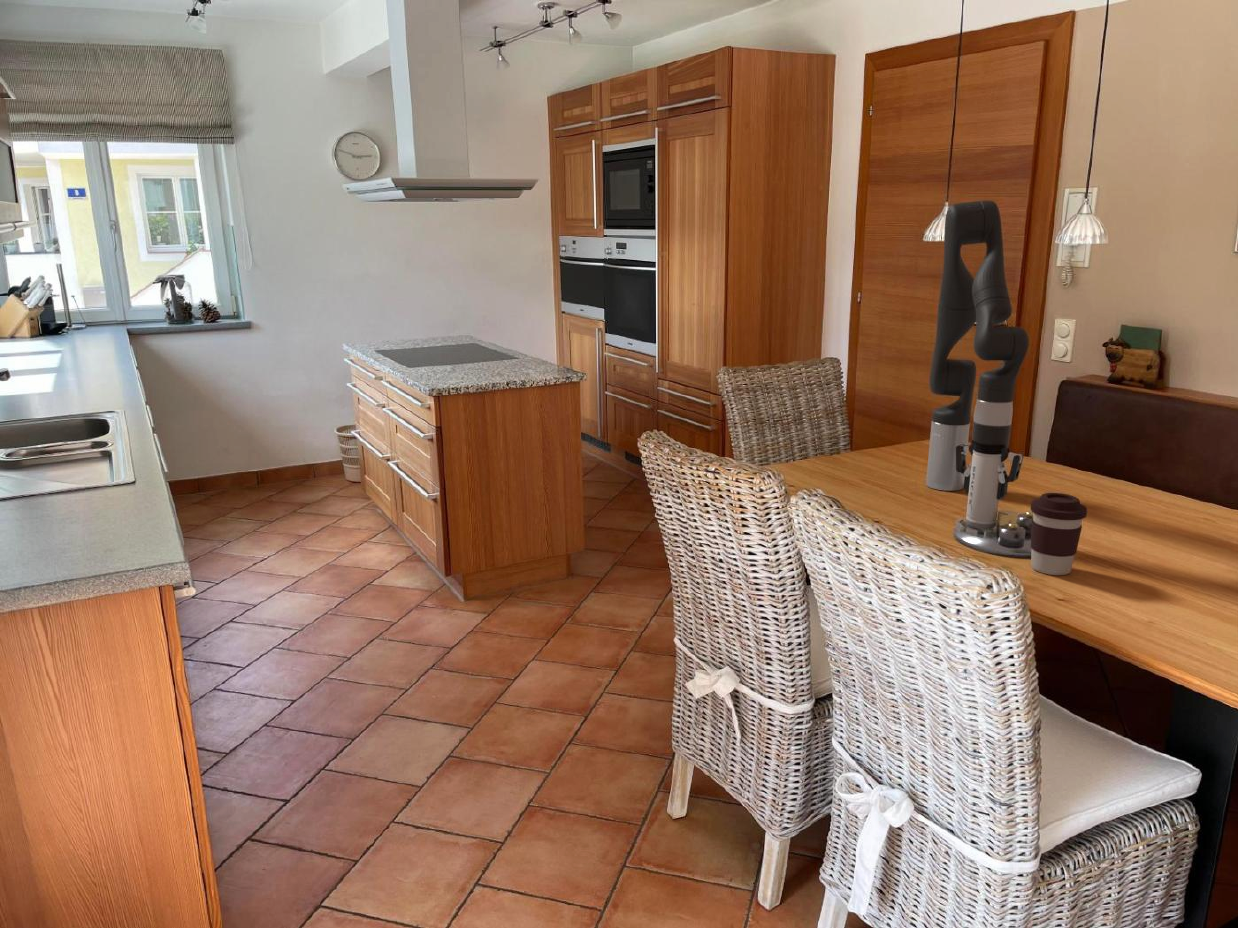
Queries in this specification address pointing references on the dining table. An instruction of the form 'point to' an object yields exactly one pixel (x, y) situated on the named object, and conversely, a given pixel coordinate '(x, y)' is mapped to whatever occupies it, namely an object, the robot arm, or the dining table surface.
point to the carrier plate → (991, 543)
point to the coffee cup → (1055, 532)
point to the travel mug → (984, 486)
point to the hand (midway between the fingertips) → (984, 495)
